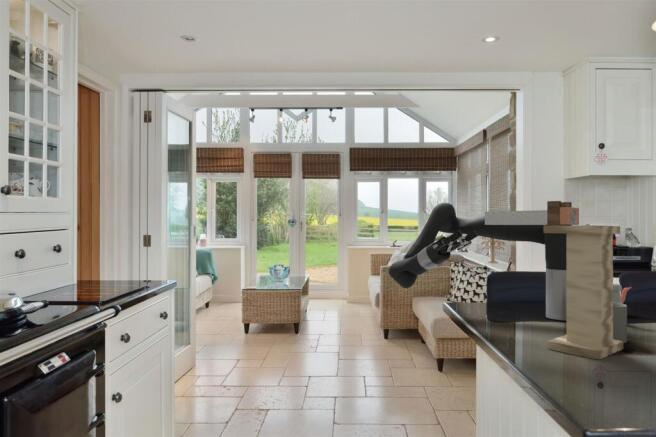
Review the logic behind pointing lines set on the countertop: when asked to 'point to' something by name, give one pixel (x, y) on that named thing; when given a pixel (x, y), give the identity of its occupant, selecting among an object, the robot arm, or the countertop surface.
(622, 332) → the coffee mug
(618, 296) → the salt shaker
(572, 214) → the bar
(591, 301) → the shelf stand
